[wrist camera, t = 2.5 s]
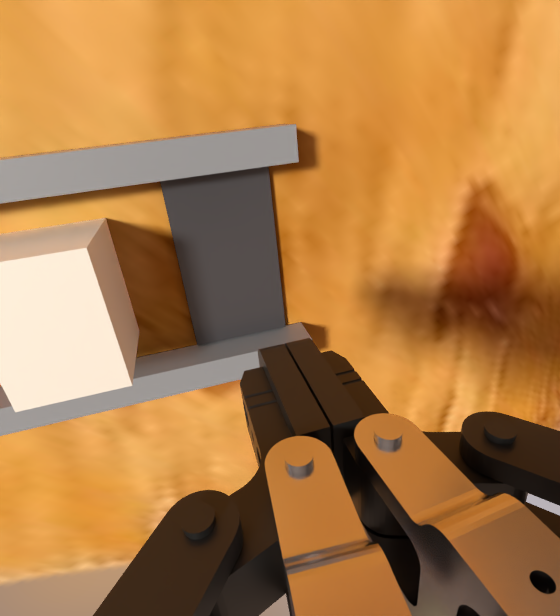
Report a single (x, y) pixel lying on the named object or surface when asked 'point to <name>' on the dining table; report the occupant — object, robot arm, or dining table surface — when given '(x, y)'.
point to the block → (63, 315)
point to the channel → (183, 252)
